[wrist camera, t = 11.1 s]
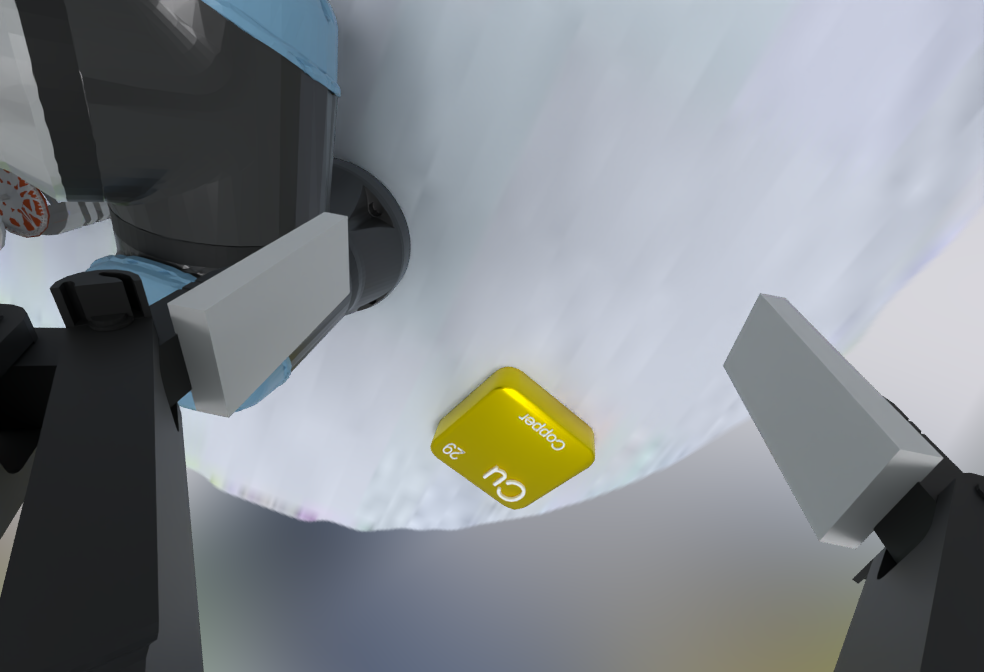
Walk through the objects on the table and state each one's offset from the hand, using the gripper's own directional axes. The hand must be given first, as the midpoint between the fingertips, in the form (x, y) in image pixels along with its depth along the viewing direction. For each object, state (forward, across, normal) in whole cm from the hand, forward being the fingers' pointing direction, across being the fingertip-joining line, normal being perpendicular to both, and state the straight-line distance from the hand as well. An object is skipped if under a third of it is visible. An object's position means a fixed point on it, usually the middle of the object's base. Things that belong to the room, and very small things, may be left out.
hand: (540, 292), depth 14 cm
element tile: (+29, -2, +32) cm, 43 cm away
